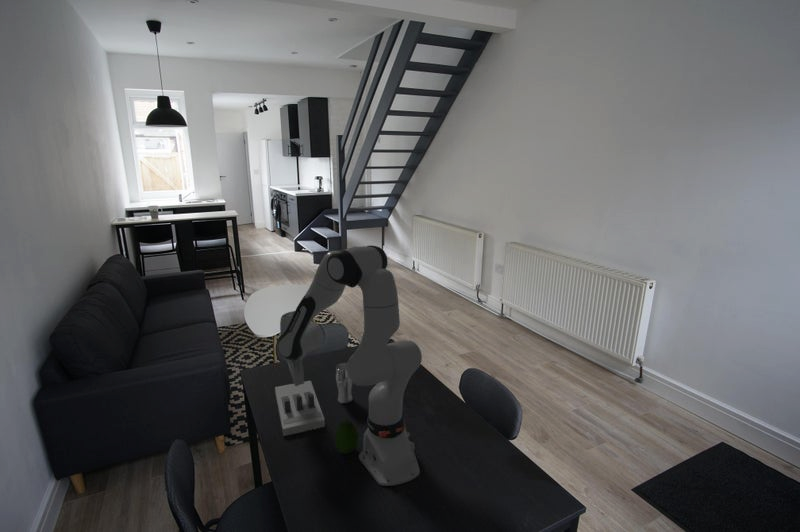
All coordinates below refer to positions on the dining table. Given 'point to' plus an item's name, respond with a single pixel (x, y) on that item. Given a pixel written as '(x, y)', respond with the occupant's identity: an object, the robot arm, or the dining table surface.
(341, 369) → the beer glass
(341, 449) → the avocado
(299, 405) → the breaker handle
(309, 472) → the dining table surface
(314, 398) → the breaker panel
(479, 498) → the dining table surface
